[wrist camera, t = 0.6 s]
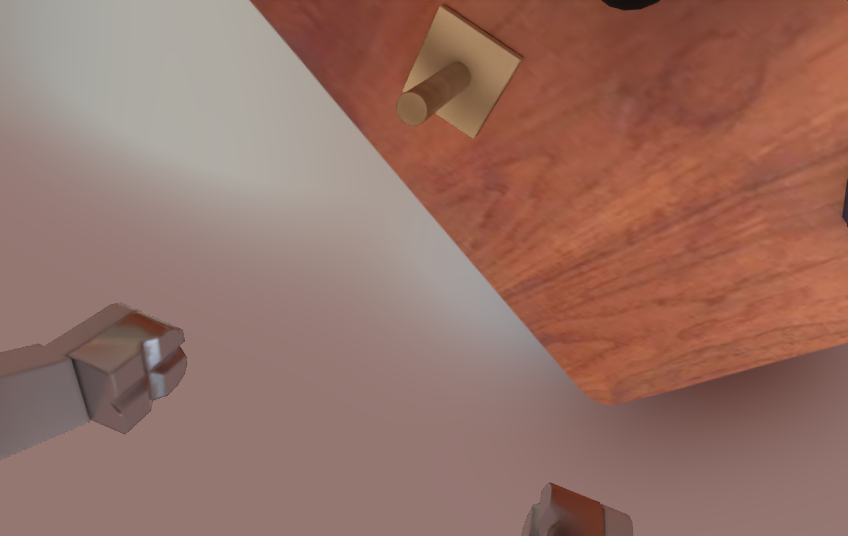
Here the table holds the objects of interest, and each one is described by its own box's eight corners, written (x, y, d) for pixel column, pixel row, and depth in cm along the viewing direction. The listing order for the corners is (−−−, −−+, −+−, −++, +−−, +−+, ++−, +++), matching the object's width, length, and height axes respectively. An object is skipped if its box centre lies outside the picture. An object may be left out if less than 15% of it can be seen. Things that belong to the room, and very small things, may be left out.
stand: (444, 4, 39) (385, 23, 31) (523, 57, 39) (486, 91, 31) (406, 88, 44) (347, 124, 36) (476, 135, 44) (433, 182, 36)
